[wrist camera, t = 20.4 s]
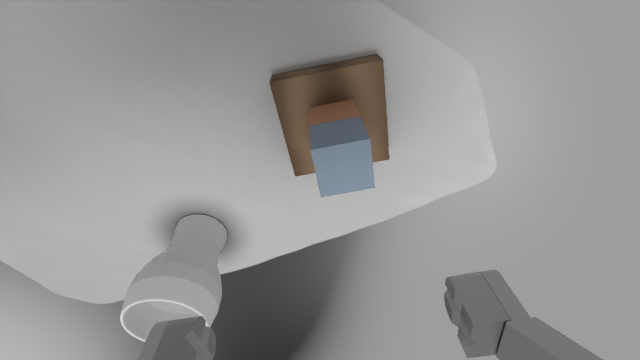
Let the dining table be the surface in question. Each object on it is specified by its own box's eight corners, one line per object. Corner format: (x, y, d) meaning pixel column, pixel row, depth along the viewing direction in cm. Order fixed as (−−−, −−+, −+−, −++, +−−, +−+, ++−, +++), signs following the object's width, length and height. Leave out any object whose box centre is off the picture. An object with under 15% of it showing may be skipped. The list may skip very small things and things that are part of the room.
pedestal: (295, 164, 40) (295, 176, 38) (272, 75, 34) (269, 82, 31) (383, 148, 40) (389, 159, 37) (376, 53, 33) (382, 59, 31)
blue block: (318, 169, 32) (321, 197, 28) (309, 126, 29) (310, 150, 25) (365, 160, 31) (374, 187, 27) (360, 116, 29) (370, 138, 24)
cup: (249, 226, 46) (229, 316, 34) (217, 265, 51) (189, 357, 38) (183, 194, 42) (133, 283, 30) (155, 239, 47) (101, 332, 34)
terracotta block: (317, 146, 36) (319, 168, 32) (308, 107, 33) (309, 125, 29) (358, 139, 36) (365, 160, 31) (353, 98, 33) (361, 115, 29)
